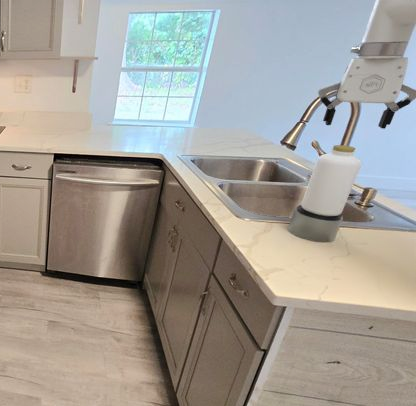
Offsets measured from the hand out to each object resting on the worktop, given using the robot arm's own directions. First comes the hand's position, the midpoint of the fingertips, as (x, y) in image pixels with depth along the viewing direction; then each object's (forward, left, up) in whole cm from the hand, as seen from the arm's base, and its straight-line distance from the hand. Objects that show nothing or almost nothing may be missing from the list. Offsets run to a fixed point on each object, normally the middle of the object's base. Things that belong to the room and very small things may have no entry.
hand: (353, 125), depth 90 cm
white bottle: (0, 0, -24) cm, 24 cm away
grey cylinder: (0, 0, -30) cm, 30 cm away
